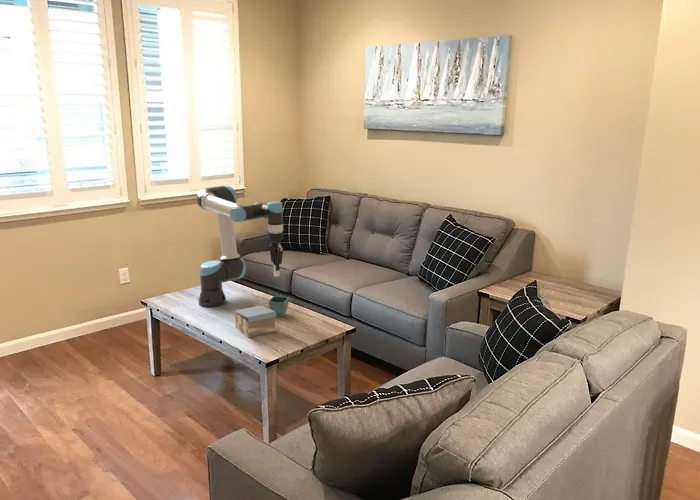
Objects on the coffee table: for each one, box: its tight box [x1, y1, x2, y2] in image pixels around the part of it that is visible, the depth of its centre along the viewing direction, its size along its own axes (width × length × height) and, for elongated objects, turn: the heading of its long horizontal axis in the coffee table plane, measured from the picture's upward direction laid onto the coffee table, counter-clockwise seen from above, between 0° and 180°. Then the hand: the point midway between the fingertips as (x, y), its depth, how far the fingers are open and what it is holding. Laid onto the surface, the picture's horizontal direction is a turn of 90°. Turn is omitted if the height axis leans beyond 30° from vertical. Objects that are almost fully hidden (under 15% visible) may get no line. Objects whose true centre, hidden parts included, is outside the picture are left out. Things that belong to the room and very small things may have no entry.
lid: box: [234, 305, 277, 322], centre depth 278 cm, size 17×14×2 cm
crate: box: [234, 312, 276, 339], centre depth 279 cm, size 16×14×8 cm
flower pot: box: [268, 295, 290, 318], centre depth 299 cm, size 9×9×9 cm
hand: (276, 276), depth 294 cm, fingers closed
